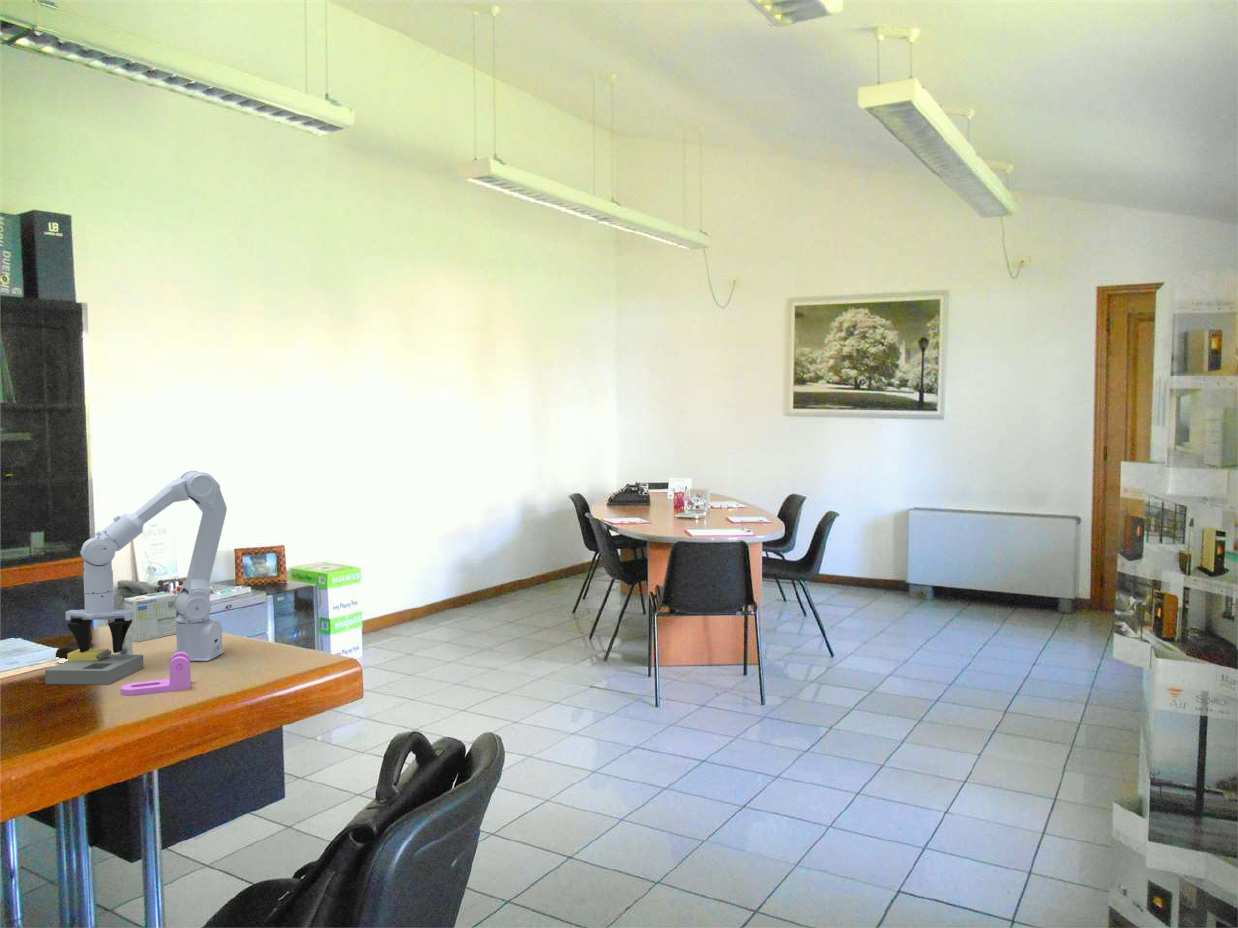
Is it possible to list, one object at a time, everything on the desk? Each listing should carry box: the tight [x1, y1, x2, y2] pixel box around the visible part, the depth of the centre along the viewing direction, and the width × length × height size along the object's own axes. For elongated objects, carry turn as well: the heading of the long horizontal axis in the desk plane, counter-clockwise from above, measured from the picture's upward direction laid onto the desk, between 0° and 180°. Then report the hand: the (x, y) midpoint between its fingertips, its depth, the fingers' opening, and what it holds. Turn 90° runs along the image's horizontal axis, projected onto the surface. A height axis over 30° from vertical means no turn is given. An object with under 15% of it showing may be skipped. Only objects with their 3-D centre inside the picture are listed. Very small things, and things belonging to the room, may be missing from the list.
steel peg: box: [117, 628, 134, 655], centre depth 210 cm, size 3×3×8 cm
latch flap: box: [67, 648, 112, 661], centre depth 204 cm, size 8×4×2 cm, turn 87°
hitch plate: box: [44, 653, 145, 686], centre depth 201 cm, size 14×13×3 cm
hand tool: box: [55, 628, 93, 659], centre depth 220 cm, size 19×4×5 cm, turn 12°
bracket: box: [120, 651, 192, 697], centre depth 190 cm, size 13×6×7 cm, turn 113°
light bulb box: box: [123, 591, 178, 643], centre depth 236 cm, size 11×7×11 cm, turn 144°
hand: (101, 651), depth 203 cm, fingers open, 7 cm apart
